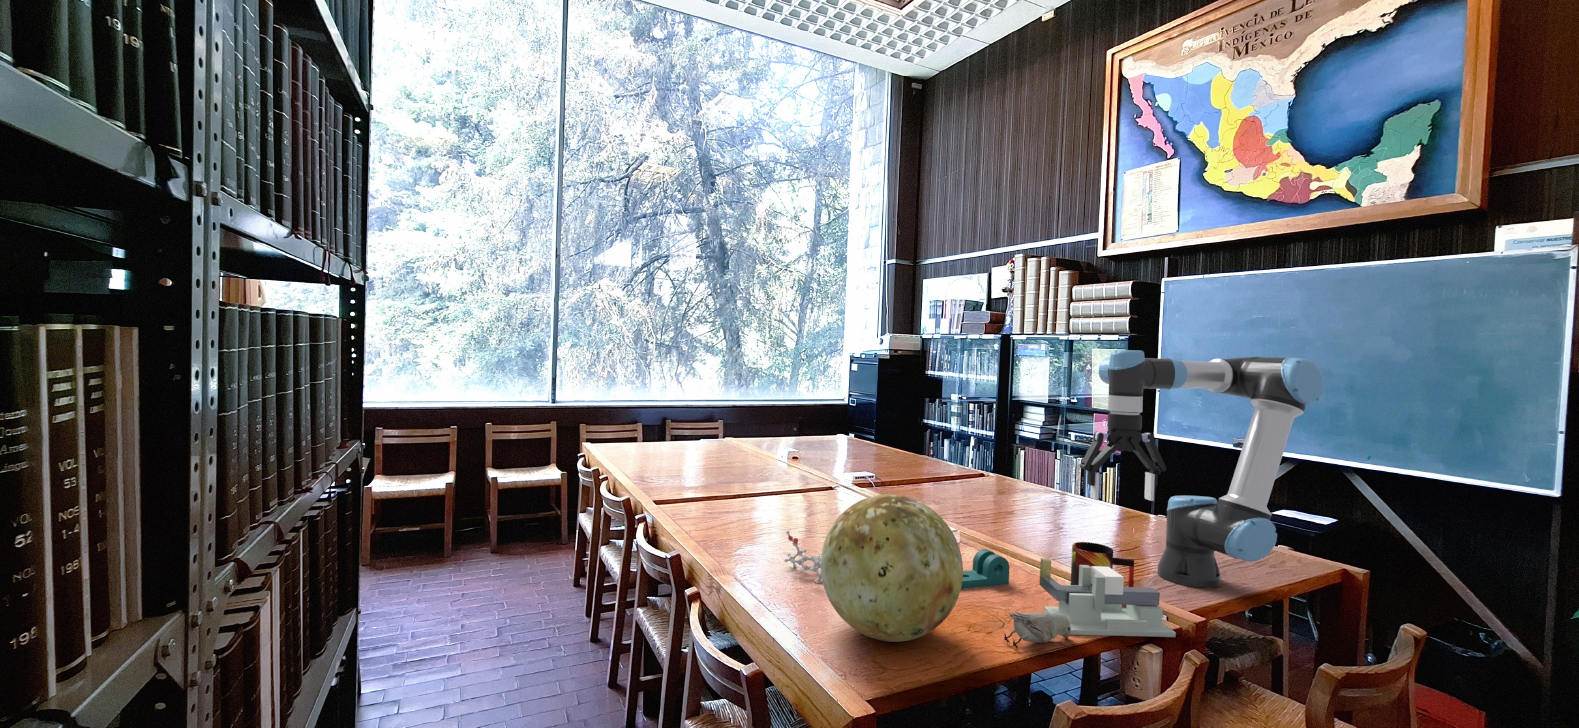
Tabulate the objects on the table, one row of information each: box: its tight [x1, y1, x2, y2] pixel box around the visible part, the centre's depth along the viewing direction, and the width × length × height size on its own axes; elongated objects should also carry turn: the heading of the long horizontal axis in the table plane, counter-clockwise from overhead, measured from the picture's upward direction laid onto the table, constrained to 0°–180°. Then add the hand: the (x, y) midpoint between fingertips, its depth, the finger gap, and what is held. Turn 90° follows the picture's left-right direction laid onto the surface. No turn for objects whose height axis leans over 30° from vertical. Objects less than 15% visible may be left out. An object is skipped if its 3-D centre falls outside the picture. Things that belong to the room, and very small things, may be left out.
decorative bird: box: [1003, 611, 1071, 651], centre depth 140 cm, size 5×16×8 cm, turn 110°
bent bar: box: [1039, 557, 1161, 607], centre depth 155 cm, size 24×10×7 cm, turn 91°
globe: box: [820, 494, 964, 643], centre depth 141 cm, size 30×30×30 cm
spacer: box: [1091, 566, 1125, 595], centre depth 151 cm, size 4×7×4 cm, turn 1°
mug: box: [1070, 541, 1135, 587], centre depth 170 cm, size 10×14×12 cm
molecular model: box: [784, 530, 822, 583], centre depth 177 cm, size 19×10×10 cm, turn 26°
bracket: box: [961, 548, 1010, 590], centre depth 175 cm, size 18×7×8 cm, turn 108°
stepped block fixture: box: [1043, 565, 1177, 638], centre depth 151 cm, size 24×13×12 cm, turn 91°
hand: (1121, 499), depth 162 cm, fingers open, 13 cm apart
